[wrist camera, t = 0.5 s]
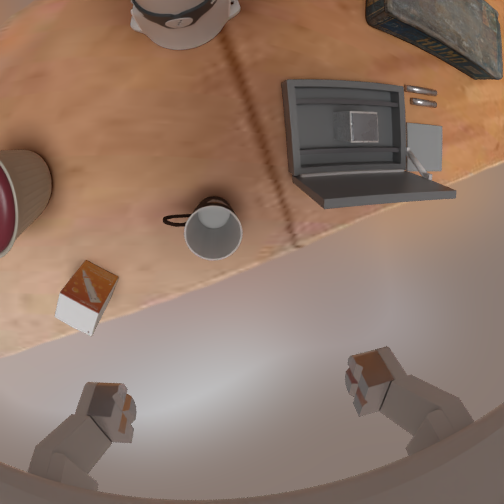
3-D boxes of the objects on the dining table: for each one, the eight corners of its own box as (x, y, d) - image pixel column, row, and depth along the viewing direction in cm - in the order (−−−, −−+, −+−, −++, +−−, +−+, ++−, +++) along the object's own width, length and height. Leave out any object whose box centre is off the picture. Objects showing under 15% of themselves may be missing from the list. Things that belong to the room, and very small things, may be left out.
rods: (403, 84, 45) (407, 84, 44) (432, 89, 45) (436, 89, 44) (405, 103, 46) (409, 103, 45) (433, 107, 47) (438, 108, 46)
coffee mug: (247, 208, 53) (254, 227, 43) (219, 244, 55) (220, 270, 46) (193, 170, 49) (188, 182, 40) (166, 210, 51) (156, 229, 42)
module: (332, 111, 46) (350, 111, 39) (358, 112, 46) (378, 112, 39) (334, 139, 48) (352, 142, 41) (359, 139, 48) (379, 142, 41)
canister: (82, 188, 47) (19, 227, 28) (32, 241, 49) (-24, 292, 30) (35, 118, 40) (-39, 128, 21) (-10, 178, 42) (-75, 209, 23)
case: (281, 82, 44) (315, 62, 27) (397, 88, 45) (462, 85, 28) (289, 179, 51) (324, 209, 34) (400, 172, 52) (461, 198, 36)
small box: (119, 276, 55) (99, 314, 43) (110, 298, 57) (91, 338, 45) (85, 258, 53) (58, 292, 41) (78, 282, 55) (53, 318, 43)
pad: (406, 122, 48) (407, 122, 48) (441, 126, 49) (442, 126, 48) (406, 170, 52) (407, 171, 52) (440, 170, 53) (441, 171, 53)
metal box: (364, -46, 31) (386, -65, 22) (473, 15, 36) (499, 10, 27) (361, 27, 40) (387, 13, 31) (474, 83, 45) (504, 84, 36)
